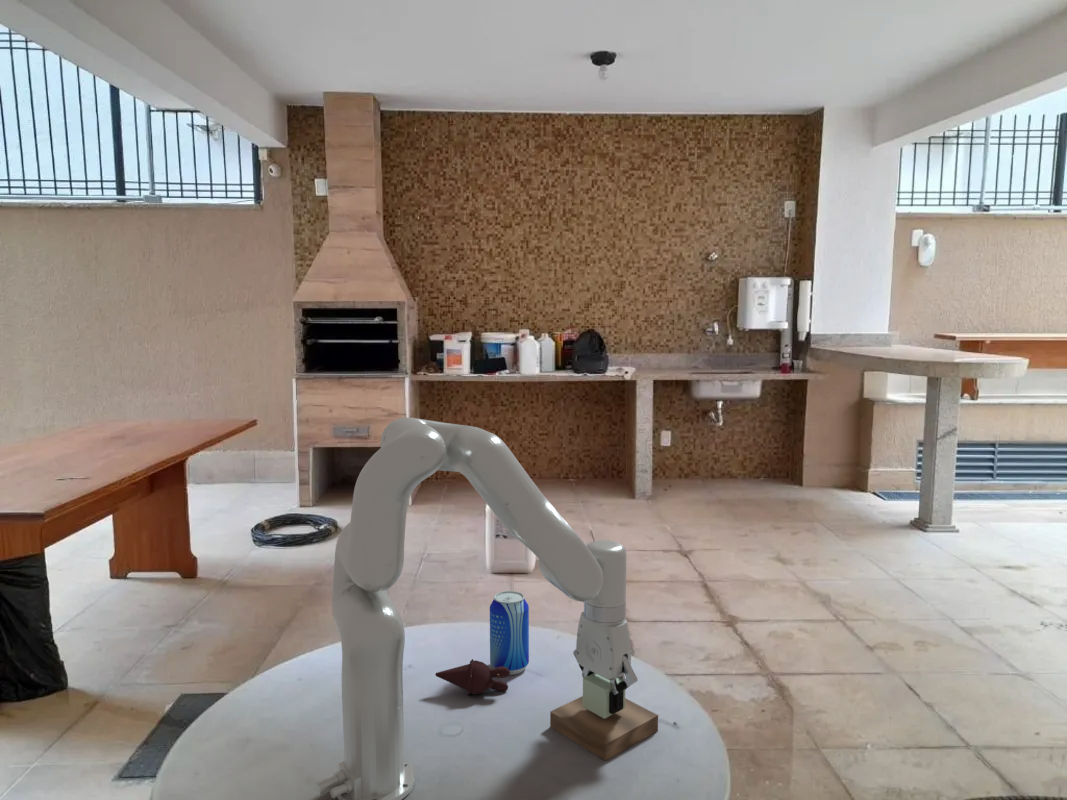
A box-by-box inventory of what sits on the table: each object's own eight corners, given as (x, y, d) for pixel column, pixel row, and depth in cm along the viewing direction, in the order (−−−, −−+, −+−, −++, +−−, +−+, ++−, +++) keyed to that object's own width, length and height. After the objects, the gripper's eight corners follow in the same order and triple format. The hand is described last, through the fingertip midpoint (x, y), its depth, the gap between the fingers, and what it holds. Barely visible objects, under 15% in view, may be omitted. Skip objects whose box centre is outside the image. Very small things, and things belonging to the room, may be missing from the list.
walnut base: (605, 760, 126) (605, 744, 125) (550, 726, 136) (550, 711, 136) (657, 730, 135) (658, 715, 134) (602, 700, 145) (602, 686, 145)
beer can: (484, 663, 161) (483, 593, 160) (519, 655, 165) (519, 587, 163) (498, 680, 154) (498, 606, 152) (535, 671, 157) (535, 600, 155)
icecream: (433, 673, 144) (509, 679, 144) (438, 647, 150) (511, 653, 151) (432, 701, 146) (507, 707, 146) (437, 674, 153) (509, 680, 153)
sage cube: (604, 718, 131) (604, 689, 131) (582, 706, 135) (582, 678, 135) (625, 708, 135) (625, 679, 134) (603, 696, 139) (603, 668, 138)
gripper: (557, 601, 137) (557, 693, 139) (626, 630, 124) (624, 731, 126) (585, 591, 142) (585, 680, 144) (655, 618, 129) (653, 716, 131)
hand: (603, 703), depth 135 cm, fingers closed on sage cube, 5 cm apart
